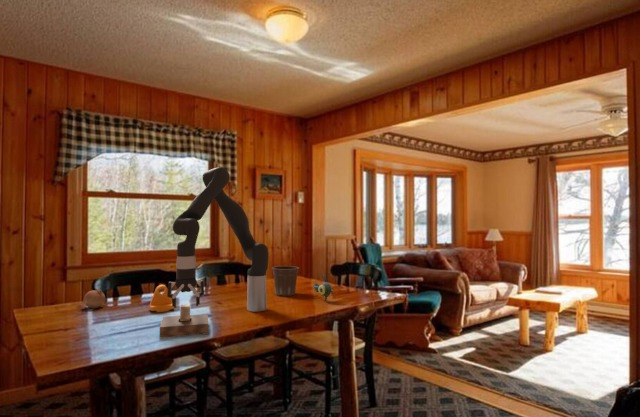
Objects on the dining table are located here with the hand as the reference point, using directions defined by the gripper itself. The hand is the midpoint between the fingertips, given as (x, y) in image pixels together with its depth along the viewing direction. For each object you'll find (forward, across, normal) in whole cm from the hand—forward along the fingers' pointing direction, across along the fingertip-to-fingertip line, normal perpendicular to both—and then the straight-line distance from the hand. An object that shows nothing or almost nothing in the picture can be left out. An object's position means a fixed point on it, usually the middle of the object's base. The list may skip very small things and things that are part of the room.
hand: (186, 306), depth 161 cm
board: (+10, 0, 0) cm, 10 cm away
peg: (+10, 0, 0) cm, 10 cm away
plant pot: (+11, -55, -61) cm, 83 cm away
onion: (+10, +45, -53) cm, 70 cm away
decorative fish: (+11, -71, -37) cm, 80 cm away
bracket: (+10, +12, -39) cm, 42 cm away
